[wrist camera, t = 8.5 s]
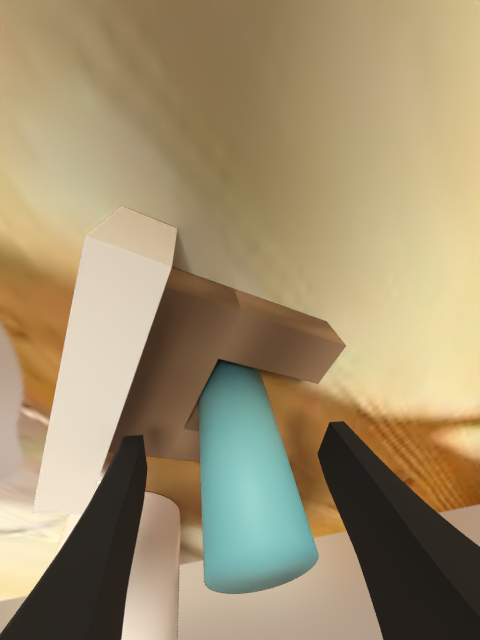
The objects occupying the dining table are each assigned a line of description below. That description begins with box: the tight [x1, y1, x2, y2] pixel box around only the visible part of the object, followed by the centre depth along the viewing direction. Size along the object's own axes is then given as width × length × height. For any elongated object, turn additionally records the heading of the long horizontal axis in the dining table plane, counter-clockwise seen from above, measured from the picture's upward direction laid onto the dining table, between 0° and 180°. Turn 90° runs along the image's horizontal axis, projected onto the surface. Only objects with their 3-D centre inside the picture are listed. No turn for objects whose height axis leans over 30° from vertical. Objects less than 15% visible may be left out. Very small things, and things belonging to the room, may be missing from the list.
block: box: [108, 267, 346, 462], centre depth 13 cm, size 8×9×2 cm
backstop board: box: [32, 206, 177, 515], centre depth 11 cm, size 2×12×4 cm, turn 156°
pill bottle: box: [53, 491, 181, 640], centre depth 15 cm, size 8×8×11 cm
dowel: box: [198, 359, 319, 594], centre depth 11 cm, size 3×3×8 cm
